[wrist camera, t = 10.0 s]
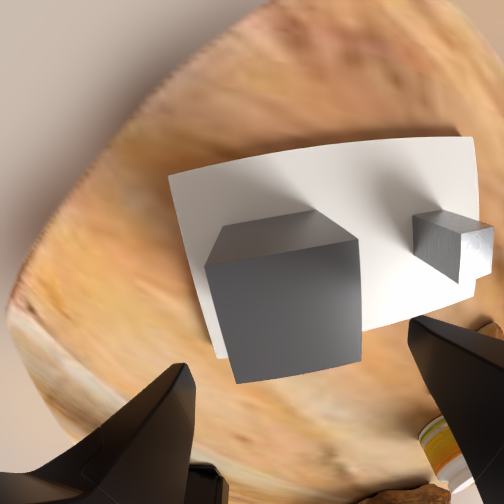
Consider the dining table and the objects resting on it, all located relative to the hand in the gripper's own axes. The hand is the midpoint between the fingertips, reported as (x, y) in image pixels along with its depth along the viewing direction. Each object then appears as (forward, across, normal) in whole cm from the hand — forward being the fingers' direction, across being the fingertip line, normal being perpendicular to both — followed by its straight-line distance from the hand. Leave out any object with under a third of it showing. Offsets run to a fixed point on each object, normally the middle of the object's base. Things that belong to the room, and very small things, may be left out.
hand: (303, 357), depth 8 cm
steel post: (+9, -10, 0) cm, 13 cm away
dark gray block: (+9, 0, 0) cm, 9 cm away
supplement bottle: (+10, -16, +25) cm, 31 cm away
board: (+10, -5, 0) cm, 11 cm away
